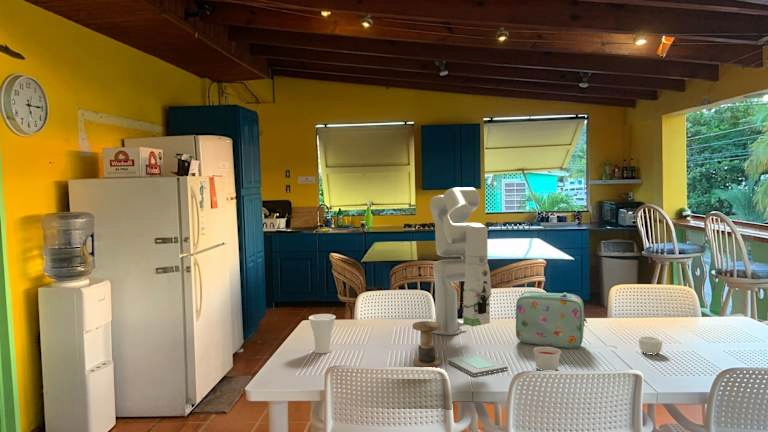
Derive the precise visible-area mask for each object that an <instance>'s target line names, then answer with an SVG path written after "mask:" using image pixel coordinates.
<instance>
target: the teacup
mask: <svg viewBox="0 0 768 432" xmlns="http://www.w3.org/2000/svg"><path fill="white" fill-rule="evenodd" d="M638 347H639V350H640V351H641V352H642V353H643V352H645V353H652V354H655V353H658V354H659V352H660V353H661V352H662V347H663V341H662V339H661V338H659V337H657V336H656V337H654V336H648V335H646V336H645V335H643V336H640V337H638ZM645 353H644V354H645Z"/></svg>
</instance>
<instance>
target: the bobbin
mask: <svg viewBox="0 0 768 432" xmlns="http://www.w3.org/2000/svg"><path fill="white" fill-rule="evenodd" d="M440 328H441V324H440V323H437V322H436V321H429V320H425V321H424V320H423V321H415V322H413V323H412V329H413V330H415V331H420V345H418V356H416V357H414V358H413V360H412V364H413V365H414V366H416V367H418V366H422V367H421V368H423V367H432V368H438V367H440V366H441V364H442V360H441V358H439V357H437V356H436V345H434V333H433V331H435V330H439V329H440Z"/></svg>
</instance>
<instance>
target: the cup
mask: <svg viewBox="0 0 768 432" xmlns="http://www.w3.org/2000/svg"><path fill="white" fill-rule="evenodd" d="M308 320H309V323H310V327H311V330H312V333H313V337H314V353H315V354H328V353H330V352H332V347H331V346H332V345H331V343H332V342H331V339H332V331H333V328H334V324H335V321H336V315H334V314H331V313H318V314H316V313H315V314H312V315H310V316H309V317H308Z"/></svg>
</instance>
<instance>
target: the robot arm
mask: <svg viewBox="0 0 768 432" xmlns="http://www.w3.org/2000/svg"><path fill="white" fill-rule="evenodd" d="M480 203H481V196H480V193H479V191H478V190H477V189H476V188H475V187H452V188H449V189H447V190H445V191H444V194H442V195H441V194H439V195H435V196H433V197H432V198H431V199H430V203H429V204H430V207H429V208H430V213H431V216H432V219H433V223H434V229H435V231H434V232H435V235H434V237H435V251H436V254H437V255H438V256H440V257H460V258H459V259H457V258H455V259H440V260H437V261H436V262H434V263H433V266H432V273H433V281H434V295H435V297H434V299H435V301H434V303H435V305H434V306H435V307H434V308H435V309H434V310H435V311H434V312H435V315H434V316H435V322H437V323H440V324H441V328H440V329H439V330H435V331H433V334H435V335H441V336H455V335H458V334H461V333H462V328H461V327H465V326H467V325H466V324H463V321H461V320H458V291H457V289H456V288H455V286H454V285H453V284H452V282H453V283H454V282H464V284H463V289H464V290H470V291H473V292H476V293H477V294H478V299H479V302H478V314H484V313H486V302H487V301H488V298H489V297H490V298H491V295H492V292H491V291H492V281H491V272H490V266H489V264H488V227H487V226H486V225H484V224H482V223H480V222H467V221H468V220H469V219H470V218H471V216H472V213H473V212H474V211H475V210H477V208H478V207H479V206H480ZM464 290H463V291H464ZM482 291H483V293H482ZM481 295H483V297H481Z"/></svg>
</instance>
